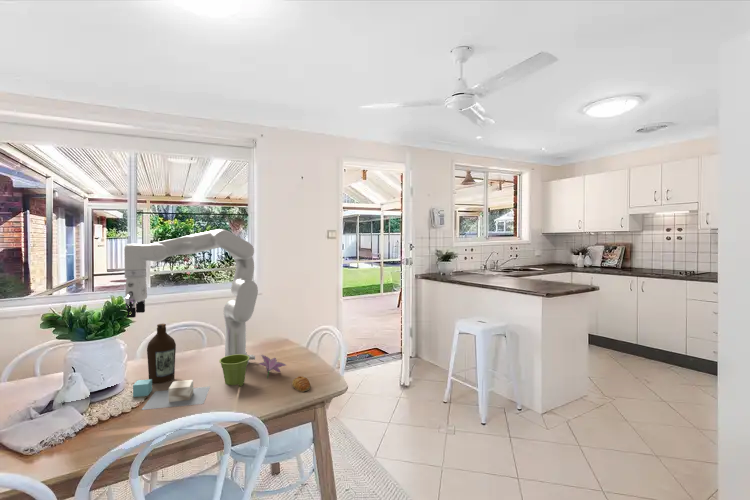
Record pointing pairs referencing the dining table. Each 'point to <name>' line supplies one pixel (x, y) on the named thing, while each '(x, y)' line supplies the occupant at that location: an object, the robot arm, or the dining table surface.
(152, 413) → the dining table surface
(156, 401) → the slate board
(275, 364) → the lily
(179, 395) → the cream base block
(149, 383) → the teal block
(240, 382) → the plant pot
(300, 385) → the pastry
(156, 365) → the olive oil
